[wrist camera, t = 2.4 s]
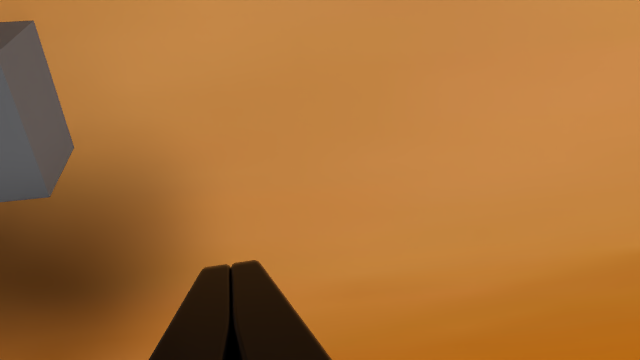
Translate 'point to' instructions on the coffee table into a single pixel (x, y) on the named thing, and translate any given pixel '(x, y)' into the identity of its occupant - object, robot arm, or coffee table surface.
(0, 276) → the coffee table surface
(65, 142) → the block
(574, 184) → the coffee table surface
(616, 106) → the coffee table surface
